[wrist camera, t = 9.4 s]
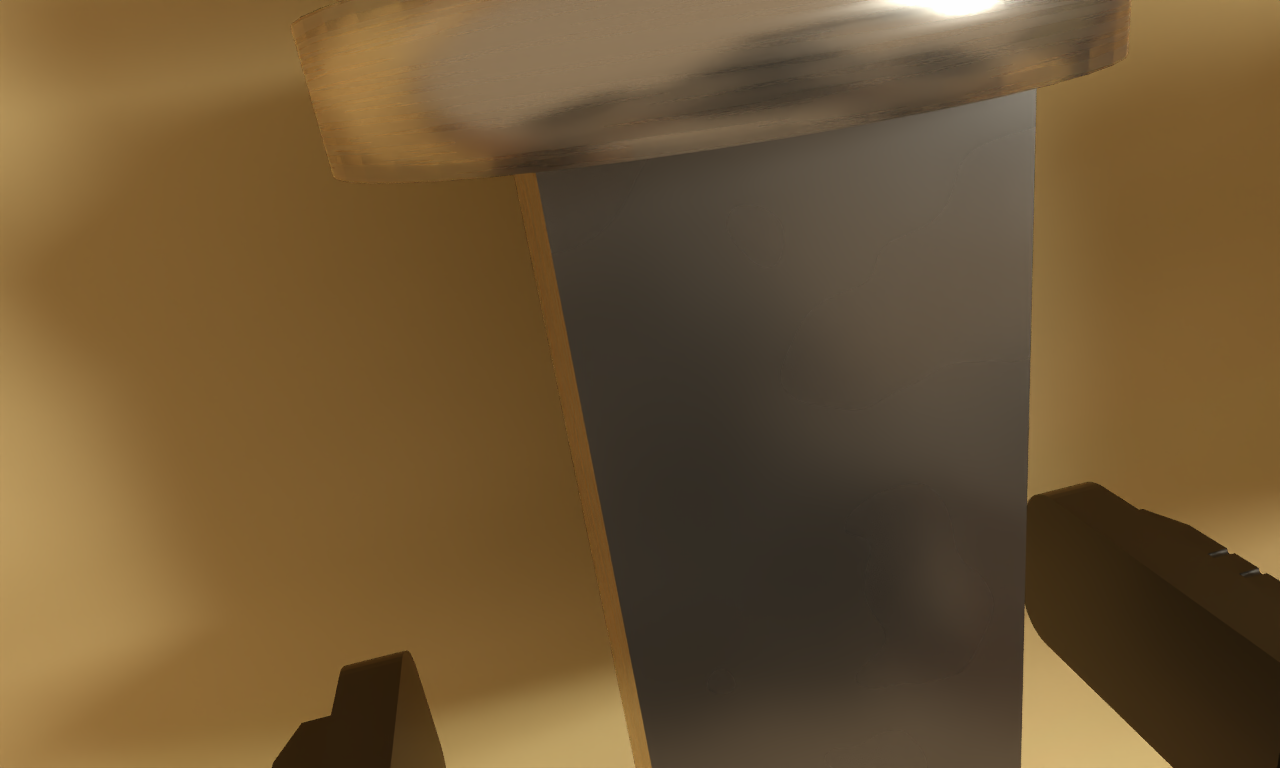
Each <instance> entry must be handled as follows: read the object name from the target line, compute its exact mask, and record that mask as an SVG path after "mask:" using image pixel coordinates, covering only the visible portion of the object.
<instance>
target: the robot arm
mask: <svg viewBox="0 0 1280 768" xmlns="http://www.w3.org/2000/svg"><path fill="white" fill-rule="evenodd" d="M1025 605H1026V609H1027V612H1028V615H1029V618H1030V620H1031V622H1032V624H1033V626H1034V628H1035V630H1036V631H1037V633H1038V635H1039V636H1040V637H1041V639H1042V640H1043V641H1044V642H1045V643H1046V644H1047V645H1048V646H1049V647H1050V648H1051V649H1052V650H1053V651H1054V652H1055V653H1056V654H1057V655H1058V656H1059V657H1060V658H1061V659H1062V660H1063V661H1064V662H1065V663H1066V664H1067V665H1068V666H1069V667H1070V668H1071V669H1072V670H1073V671H1074V672H1076V673H1077V674H1078V675H1079V676H1080V677H1081V678H1082V679H1083V680H1084V681H1085V682H1086V683H1087V684H1088V685H1089V686H1090V687H1091V688H1092V689H1093V690H1094V691H1095V692H1096V693H1097V694H1098V695H1099V696H1100V697H1101V698H1102V699H1103V700H1104V701H1105V702H1106V703H1107V704H1108V705H1109V706H1110V707H1111V708H1113V709H1114V710H1115V711H1116V712H1117V713H1118V714H1119V715H1120V716H1121V717H1122V718H1123V719H1124V720H1125V721H1126V722H1127V723H1128V724H1129V725H1130V726H1131V727H1132V728H1133V729H1134V730H1135V731H1136V732H1137V733H1138V734H1139V735H1140V736H1141V737H1142V738H1143V739H1144V740H1145V741H1146V742H1147V743H1148V744H1149V745H1151V746H1152V747H1153V748H1154V749H1155V750H1156V751H1157V752H1158V753H1159V754H1160V755H1161V756H1162V757H1163V758H1164V759H1165V760H1166V761H1167V762H1168V763H1169V764H1170V765H1171V766H1172V767H1173V768H1280V581H1279V580H1277V579H1275V578H1274V577H1272V576H1271V575H1269V574H1267V573H1266V574H1261V573H1260V572H1259V568H1258V567H1256V566H1254V565H1253V564H1251V563H1250V562H1248V561H1246V560H1245V559H1243V558H1241V557H1240V556H1238V555H1237V554H1235V553H1234V554H1229V553H1228V551H1227V548H1225V547H1224V546H1222V545H1220V544H1219V543H1217V542H1215V541H1214V540H1212V539H1211V538H1209V537H1207V536H1206V535H1204V534H1203V533H1201V532H1199V531H1198V530H1196V529H1194V528H1193V527H1191V526H1190V525H1187V524H1184V523H1181V522H1178V521H1175V520H1173V519H1170V518H1167V517H1164V516H1161V515H1158V514H1155V513H1152V512H1150V511H1147V510H1144V509H1141V510H1138V509H1137V508H1135V507H1134V506H1132V505H1131V504H1129V503H1127V502H1126V501H1124V500H1123V499H1121V498H1120V497H1118V496H1116V495H1115V494H1113V493H1112V492H1110V491H1109V490H1107V489H1106V488H1104V487H1102V486H1101V485H1099V484H1096V483H1093V482H1086V483H1082V484H1078V485H1074V486H1070V487H1066V488H1062V489H1058V490H1054V491H1050V492H1046V493H1042V494H1038V495H1034V496H1033V497H1031V499H1030V500H1029V502H1028V504H1027V522H1026V565H1025ZM272 768H446V765H445V760H444V756H443V751H442V748H441V744H440V741H439V738H438V735H437V732H436V728H435V725H434V722H433V719H432V716H431V713H430V709H429V706H428V703H427V700H426V697H425V694H424V691H423V687H422V684H421V681H420V678H419V675H418V672H417V668H416V665H415V663H414V660H413V658H412V656H411V654H410V653H409V651H403V652H399V653H395V654H391V655H387V656H383V657H379V658H375V659H371V660H367V661H363V662H359V663H355V664H351V665H347V666H344V667H343V668H342V670H341V672H340V676H339V680H338V685H337V690H336V694H335V699H334V704H333V709H332V713H331V716H327V717H323V718H320V719H316V720H312V721H308V722H304V723H301V725H300V726H299V728H298V729H297V730H296V732H295V733H294V735H293V736H292V737H291V739H290V740H289V742H288V743H287V744H286V746H285V747H284V748H283V750H282V751H281V753H280V754H279V755H278V757H277V758H276V760H275V761H274V762H273V765H272Z"/></svg>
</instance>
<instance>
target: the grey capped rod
mask: <svg viewBox="0 0 1280 768" xmlns="http://www.w3.org/2000/svg"><path fill="white" fill-rule="evenodd" d="M1130 13H1131V0H343V1H340V2H337V3H334V4H331V5H328V6H325V7H322V8H320V9H318V10H315V11H313V12H311V13H309V14H306V15H304V16H302V17H300V18H299V19H298V20H296V21H295V22H293V23H292V25H291V31H292V34H293V38H294V41H295V45H296V48H297V52H298V55H299V59H300V62H301V66H302V69H303V73H304V76H305V80H306V83H307V87H308V90H309V94H310V97H311V101H312V104H313V108H314V111H315V115H316V118H317V122H318V126H319V129H320V133H321V136H322V140H323V143H324V147H325V150H326V154H327V157H328V161H329V164H330V168H331V171H332V175H333V176H334V178H335V179H337V180H341V181H345V182H355V183H413V182H432V181H448V180H460V179H472V178H485V177H497V176H506V175H514V178H515V183H516V188H517V193H518V197H519V202H520V207H521V212H522V217H523V222H524V227H525V231H526V236H527V241H528V246H529V251H530V256H531V261H532V266H533V270H534V275H535V280H536V285H537V290H538V295H539V300H540V305H541V309H542V314H543V319H544V324H545V329H546V334H547V339H548V344H549V348H550V353H551V358H552V363H553V368H554V373H555V378H556V383H557V387H558V392H559V397H560V402H561V407H562V412H563V417H564V422H565V426H566V431H567V436H568V441H569V446H570V451H571V456H572V461H573V465H574V470H575V475H576V480H577V485H578V490H579V495H580V500H581V504H582V509H583V514H584V519H585V524H586V529H587V534H588V539H589V543H590V548H591V553H592V558H593V563H594V568H595V573H596V578H597V582H598V587H599V592H600V597H601V602H602V607H603V612H604V616H605V621H606V626H607V631H608V636H609V641H610V646H611V651H612V655H613V660H614V665H615V670H616V675H617V680H618V685H619V690H620V694H621V699H622V704H623V709H624V714H625V719H626V724H627V729H628V733H629V738H630V743H631V748H632V753H633V758H634V763H635V768H1021V738H1022V695H1023V651H1024V608H1025V565H1026V522H1027V479H1028V436H1029V393H1030V350H1031V307H1032V264H1033V221H1034V177H1035V134H1036V91H1037V88H1040V87H1044V86H1048V85H1052V84H1055V83H1059V82H1062V81H1066V80H1069V79H1073V78H1076V77H1080V76H1083V75H1087V74H1090V73H1093V72H1095V71H1098V70H1101V69H1104V68H1106V67H1109V66H1112V65H1114V64H1116V63H1118V62H1119V61H1121V60H1123V59H1125V58H1126V56H1127V54H1128V46H1129V30H1130Z"/></svg>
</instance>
